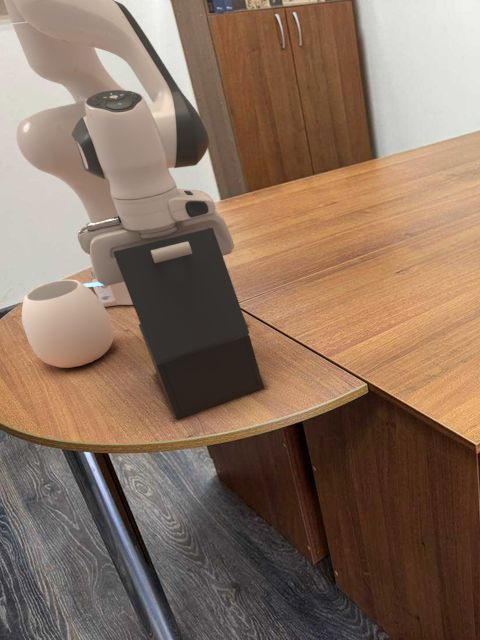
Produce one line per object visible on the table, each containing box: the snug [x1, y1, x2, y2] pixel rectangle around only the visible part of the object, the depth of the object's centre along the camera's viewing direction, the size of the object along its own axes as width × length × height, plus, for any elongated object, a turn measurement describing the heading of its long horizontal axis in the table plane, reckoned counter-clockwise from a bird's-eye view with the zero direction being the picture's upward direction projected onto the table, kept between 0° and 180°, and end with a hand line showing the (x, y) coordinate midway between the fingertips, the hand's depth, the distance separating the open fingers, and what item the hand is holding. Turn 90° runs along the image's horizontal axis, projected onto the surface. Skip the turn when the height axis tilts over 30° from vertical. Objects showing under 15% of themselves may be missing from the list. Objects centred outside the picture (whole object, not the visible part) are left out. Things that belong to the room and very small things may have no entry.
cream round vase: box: [21, 279, 115, 369], centre depth 115 cm, size 13×13×14 cm
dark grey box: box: [138, 323, 265, 420], centre depth 106 cm, size 16×14×10 cm
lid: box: [113, 228, 250, 363], centre depth 94 cm, size 17×14×5 cm
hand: (178, 293), depth 103 cm, fingers closed on block, 4 cm apart
